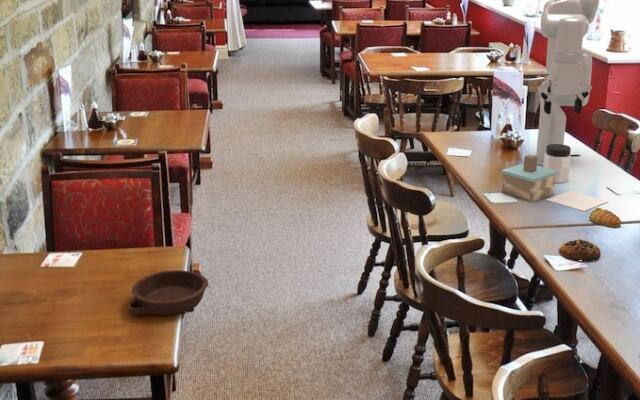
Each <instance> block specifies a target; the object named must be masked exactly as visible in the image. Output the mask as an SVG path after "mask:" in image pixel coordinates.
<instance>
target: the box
mask: <svg viewBox="0 0 640 400" xmlns="http://www.w3.org/2000/svg"><path fill="white" fill-rule="evenodd" d="M502 175H503V177H502V187H501V188H502V189H501V190H502V191H501V193H502V194H504V195H508V196H511V197H514V198H518V199H521V200H524V201H527V202H531V203H533V202H536V201H539V200H541V199H545V198H546V197H550V196H553V195H554V194H555V184H556V183H555V176H552V177H548V178H545V179H542V180H539V181H536V182H531V181H528V180H524V179H521V178H517V177H514V176H510V175H507V174H503V173H502Z"/></svg>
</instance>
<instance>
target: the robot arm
mask: <svg viewBox="0 0 640 400" xmlns="http://www.w3.org/2000/svg"><path fill="white" fill-rule="evenodd" d="M599 5H600V0H548V1H546V2H544V6H543V11H542V13H541V17H540V32H541V35H542V36H543V37H544V38H547V48H546V49H547V50H546V59H545V61H546V62H545V64H546V65H545V68H546V72H547V73H548V76H547V79H546V80H544V81H542V83H541V84H540V85H539V86H537V87H536V89H537V91H538V93H539V102H540V103H539V104H540V105H539V110H540V111H539V119H538V120H539V122H538V132H537V133H538V134H537V142H536V152H535V156H538V158H537V166H540V167H543V166H544V156H545V153H546V147H547V145H550V144H562V145H565V144H564V143H565V132H566V124H567V116H566V113H565V111H564V110H563V109H562V108H561V107H565V106H567V107H573V112H574V113H576V114H579V115H580V114H581V111H582V108H583V107H584V106H586V105H587V104H588V102H589V99H590V92H591V91H592V90H593V86H592V85H591V82H592V73H593V71H592V70H593V56H592V53H591V52H590V51H589V50H586V49H583V40H584V37H585V36H586V34H588V32H589V28H590V27H589V25H591V24H592V23H593V22H594V20H595V17H596V15H597V11H598V9H599Z"/></svg>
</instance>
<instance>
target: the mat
mask: <svg viewBox="0 0 640 400" xmlns="http://www.w3.org/2000/svg"><path fill="white" fill-rule="evenodd" d="M545 200H546V202H551V203H554V204H556V205H560V206H563V207H567V208H570V209H573V210H577V211H579V212H584V213H585V212H587V211H590V210H593V209H595V208H598V207H600V206H602V205H604V204H607V203H609V201H608V200H605V199H601V198H598V197H594V196H592V195H588V194H584V193H582V192H581V193H580V192H578V191H577V192H576V191H573V190H569V191H566V192H563V193H561V194H557V195H554V196H552V197H549V198H547V199H545Z"/></svg>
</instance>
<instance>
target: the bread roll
mask: <svg viewBox="0 0 640 400" xmlns="http://www.w3.org/2000/svg"><path fill="white" fill-rule="evenodd" d="M558 250H559V251H558V252H559V254H560V255H561V256H562V257H563V256H564V258H567V259H569V258H570V260H571V259H575V260H574V261H576V260H582V261H593V260H596V259H597V260H599V258H600V256H601V253H602V252H601V250H600V248H599V247H598V246H597V245H596V244H595V243H592V242H591V241H588V240H586V239H584V240H583V239H580V238H579V239H574V240H569V241H567V242H564V243H562V245H560V247H559V248H558ZM598 257H599V258H598ZM597 260H596V261H597ZM582 261H581V262H582ZM593 262H594V261H593Z"/></svg>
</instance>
